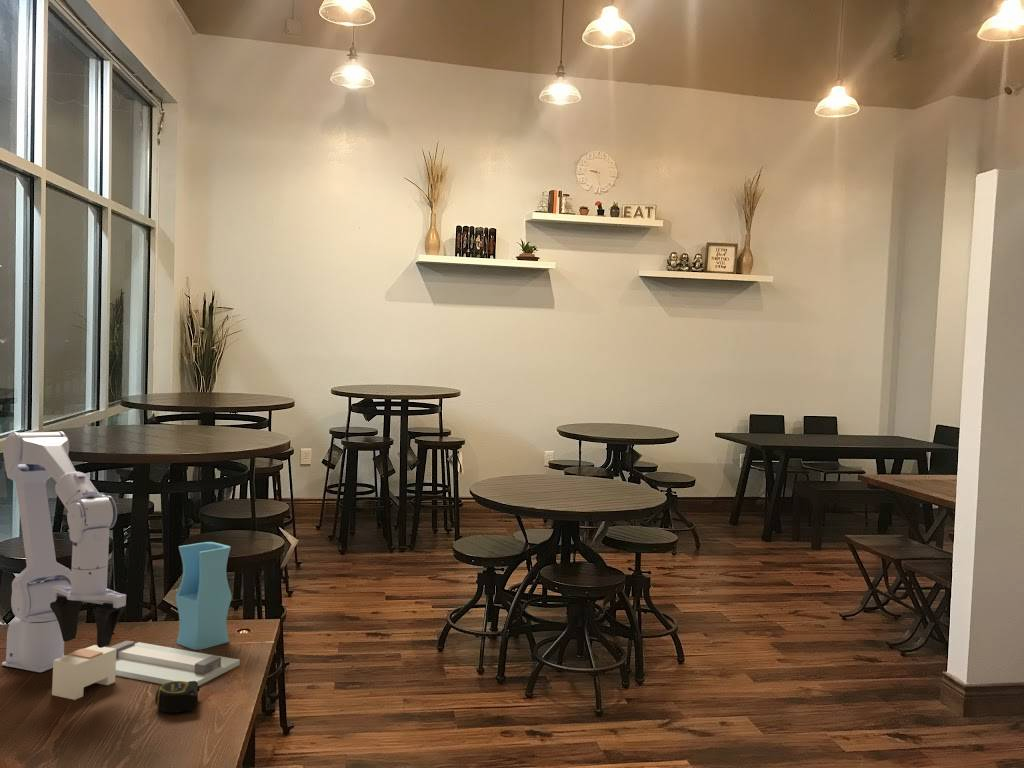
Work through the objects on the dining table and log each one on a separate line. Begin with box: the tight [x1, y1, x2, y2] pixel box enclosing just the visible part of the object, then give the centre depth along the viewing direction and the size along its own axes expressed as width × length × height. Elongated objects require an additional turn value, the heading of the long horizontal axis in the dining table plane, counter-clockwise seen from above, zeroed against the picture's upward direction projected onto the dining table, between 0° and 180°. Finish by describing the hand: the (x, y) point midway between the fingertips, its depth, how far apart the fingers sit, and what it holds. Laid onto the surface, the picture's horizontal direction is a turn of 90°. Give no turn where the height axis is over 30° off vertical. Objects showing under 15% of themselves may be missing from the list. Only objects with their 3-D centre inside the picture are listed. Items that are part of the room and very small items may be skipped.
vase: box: [175, 541, 233, 651], centre depth 173 cm, size 8×8×20 cm
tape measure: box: [154, 681, 201, 713], centre depth 139 cm, size 7×7×4 cm
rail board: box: [108, 640, 241, 687], centre depth 158 cm, size 24×14×3 cm, turn 73°
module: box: [51, 644, 117, 701], centre depth 146 cm, size 5×9×6 cm, turn 163°
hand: (86, 642), depth 146 cm, fingers open, 7 cm apart
